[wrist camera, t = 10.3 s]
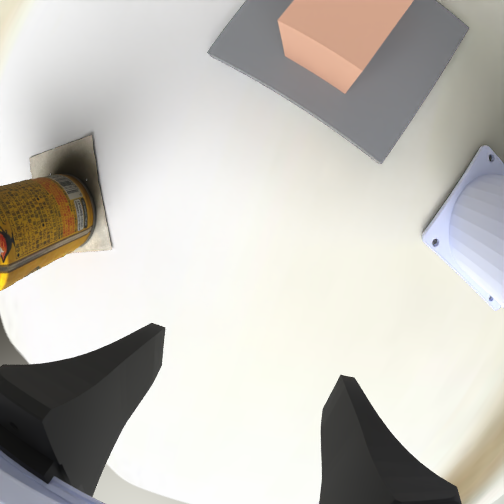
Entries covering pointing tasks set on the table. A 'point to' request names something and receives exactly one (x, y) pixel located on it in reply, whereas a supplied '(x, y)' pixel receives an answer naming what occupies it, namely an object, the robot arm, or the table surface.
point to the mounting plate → (368, 82)
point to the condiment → (52, 212)
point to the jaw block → (338, 35)
